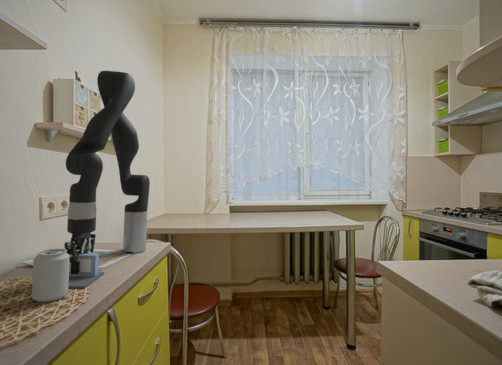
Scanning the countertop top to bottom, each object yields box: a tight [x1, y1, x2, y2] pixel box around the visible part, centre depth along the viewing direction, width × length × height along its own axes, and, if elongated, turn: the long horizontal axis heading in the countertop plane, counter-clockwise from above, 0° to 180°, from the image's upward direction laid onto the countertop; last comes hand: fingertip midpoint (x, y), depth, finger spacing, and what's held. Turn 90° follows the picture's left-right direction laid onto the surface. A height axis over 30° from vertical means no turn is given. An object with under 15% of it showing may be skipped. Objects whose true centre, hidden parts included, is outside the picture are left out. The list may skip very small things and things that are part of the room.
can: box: [31, 248, 70, 303], centre depth 69 cm, size 8×8×12 cm
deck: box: [69, 252, 100, 277], centre depth 83 cm, size 2×9×6 cm, turn 96°
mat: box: [68, 271, 105, 289], centre depth 80 cm, size 12×14×1 cm
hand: (80, 270), depth 83 cm, fingers open, 5 cm apart
